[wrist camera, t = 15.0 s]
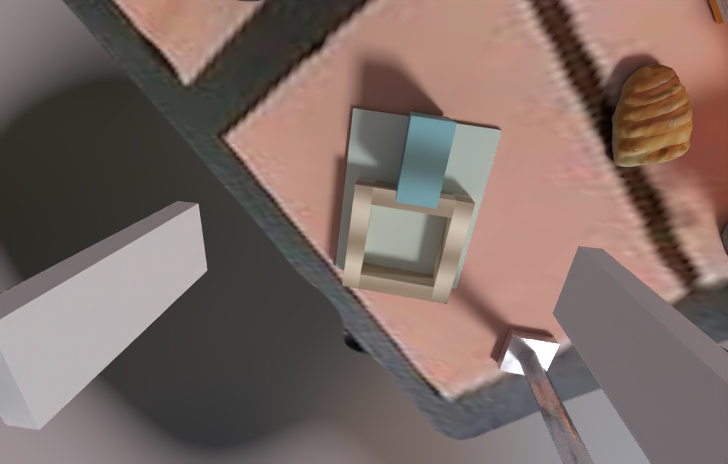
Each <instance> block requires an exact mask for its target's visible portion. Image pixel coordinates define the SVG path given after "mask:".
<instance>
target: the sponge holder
mask: <svg viewBox="0 0 728 464" xmlns="http://www.w3.org/2000/svg"><path fill="white" fill-rule="evenodd" d="M456 125H457V122H455V121H453V120H452V119H450V118H448V117H444V116H437V115H430V114H424V113H417V112H411V111H410V114H409V119H408V125H407V130H406V136H405V141H404V147H403V153H402V158H401V164H400V169H399V175H398V180H397V184H394V183H388V182H382V181H376V180H370V179H363V178H358V180H357V182H356V184H355V191H354V198H353V206H352V214H351V222H350V230H349V237H348V245H347V253H346V261H345V268H344V276H343V284H342V286H348V287H353V288H359V289H365V290H370V291H376V292H382V293H387V294H393V295H399V296H404V297H410V298H416V299H422V300H427V301H433V302H439V303H444V304H447V302H448V298H449V295H450V291H451V288H452V284H453V281H454V277H455V274H456V270H457V267H458V263H459V260H460V256H461V252H462V249H463V245H464V242H465V238H466V235H467V231H468V228H469V224H470V221H471V217H472V214H473V210H474V207H475V202H474V201H473V199H472V198H471V196H469V195H463V194H457V193H450V192H444V191H441V189H442V185H443V180H444V176H445V172H446V168H447V163H448V159H449V155H450V151H451V147H452V142H453V138H454V134H455V130H456ZM372 205H376V206H382V207H388V208H394V209H400V210H407V211H413V212H419V213H425V214H431V215H437V216H443V217H447V218H446V222H445V226H444V230H443V234H442V238H441V242H440V246H439V250H438V254H437V258H436V262H435V266H434V270H433V274H432V275H431V274H425V273H419V272H413V271H407V270H402V269H396V268H390V267H384V266H378V265H373V264H367V263H363V260H364V253H365V247H366V240H367V233H368V227H369V220H370V214H371V207H372Z"/></svg>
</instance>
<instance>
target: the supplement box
mask: <svg viewBox="0 0 728 464" xmlns="http://www.w3.org/2000/svg"><path fill="white" fill-rule="evenodd" d="M709 2H710V4H711V7H712V10H713V13H714V16H715V19H716V22H717V23H718V24H720V23H725V22H728V0H709Z"/></svg>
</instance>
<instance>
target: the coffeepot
mask: <svg viewBox="0 0 728 464" xmlns="http://www.w3.org/2000/svg"><path fill="white" fill-rule="evenodd" d="M722 238H723V243H724V246H725V248H726V250H727V251H728V222H727V223H726V225H725V228H724V231H723V233H722Z"/></svg>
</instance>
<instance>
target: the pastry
mask: <svg viewBox="0 0 728 464" xmlns="http://www.w3.org/2000/svg"><path fill="white" fill-rule="evenodd" d="M612 123H613V127H612V132H613V133H612V151H613V155H614V156H613V158H614V162H615V164H616V165H618V166H625V167H629V166H637V165H651V164H656V163H662V162H666V161H671V160H673V159H675V158H677V157H680V156H682V155H683V154H685V153H686V152H687V150H688V149H689V147H690V143H689V141H690V136H691V133H692V128H693V119H692V105H691V104H690V100H689V96H688V94H687V93H686V90H685V87H684V86H683V85H682V84H681V83H680V80H679V78H678V76H677V75H676V73H675V71H674V70H673V69H672V68H670V67H667V66H664V65H659V64H650V65H646V66H643V67H641V68H640V69H638V70H637V71H636V72H634V73H633V74H632V75H631V76H630V77H629V78H628V79H627V80H626V82H625V83H624V85H623V87H622V92H621V94H620V99H619V101H618V103H617V107H616V110H615V112H614V114H613V116H612Z"/></svg>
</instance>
